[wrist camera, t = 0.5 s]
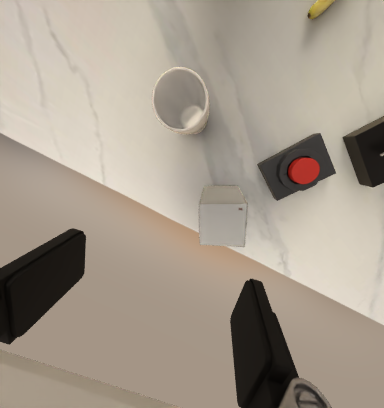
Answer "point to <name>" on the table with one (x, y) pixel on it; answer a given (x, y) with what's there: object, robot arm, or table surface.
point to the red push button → (303, 170)
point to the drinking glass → (181, 101)
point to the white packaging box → (222, 216)
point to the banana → (319, 8)
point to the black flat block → (367, 152)
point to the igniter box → (279, 163)
